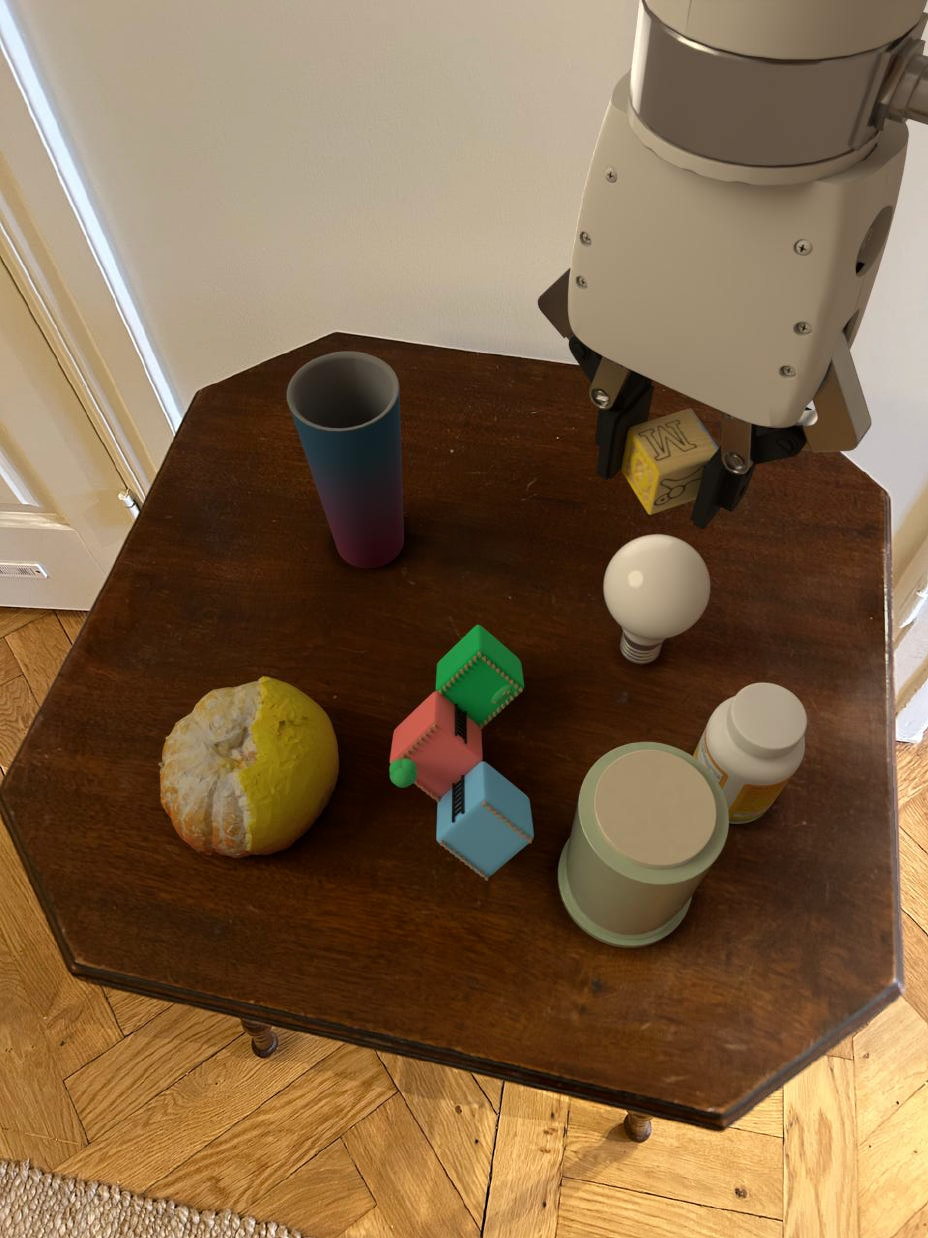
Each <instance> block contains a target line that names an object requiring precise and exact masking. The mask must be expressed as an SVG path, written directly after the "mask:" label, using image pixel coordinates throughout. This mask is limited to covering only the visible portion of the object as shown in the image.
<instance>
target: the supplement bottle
mask: <svg viewBox="0 0 928 1238" xmlns="http://www.w3.org/2000/svg"><path fill="white" fill-rule="evenodd" d="M807 727H808V715H807V711H806V708H805V707H804V705H803V703H802V702H801V701H800V699H799V698H798V697H797V696H796V695H795V694H794V693H793V692H792V691H791V690H789V689H787V688H785V687H783V686H781V685H778V684H775V683H771V682H756V683H755V682H754V683H751V684H749V685H746V686H745V687H743V688H742V689H740V690H738V692H737V693H736V694H735V695H734V696H731V697H730V698H727V699H726V700H724V701H722V702H721V703H720V704H718V706H717V707H716V708H715V709H714V711H713V712H712V714H711V715H710V717H709V719H708V722H707V723H706V726H705V728H704V731H703V732H702V735H701V737H700V739H699V741H698V744H697V746H696V747H695V750H694V752H693V754H692V756H693V757H694V758H696V759H697V760H698V761H700V762H701V763H702V764H703V765H704V766H705V767H706V768H707V769H708V770H709V771H710V772H711V773H712V775H713V776H714V777H715V779H716V780H717V782H718V784H719V785H720V787H721V789H722V791H723V794H724V796H725V799H726V803H727V806H728V813H729V824H732V825H733V824H735V825H739V824H740V825H742V824H747V823H750V822H753V821H755V820H758V819H759V818H761V817H762V816H763V815H764V814H765V813H766V812H767V811H768V810H769V809H770V808H771V806H772V805H773V804H774V802H775V801H776V799H777V798H778V797H779V795H780V794H781V792H783V790H784V789H785V787H786V785H787V784H788V783H789V781H790V780H791V778H792V777H793V776H794V775H795V773H796V772H797V770H798V768H799V767H800V765H801V763H802V762H803V759H804V756H805V752H806V739H805V737H806V736H805V734H806V732H807Z"/></svg>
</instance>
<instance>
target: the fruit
mask: <svg viewBox="0 0 928 1238" xmlns="http://www.w3.org/2000/svg"><path fill="white" fill-rule="evenodd" d="M161 753H162V754H161V759H162V760H161V761H160V762H158V763H157V765H158V766H159V767H160V769H159V780H160V781H159V788H160V795H159V796H160V804H161V806H162V808H163V810H164V811H165V813H166V815H168V817H169V818H170V820H171V823H172V826H173V828H174V830H175V831H176V834H178V836H179V838H180V839H181V840H182V841H184V842H185V843H187V844H188V845H189V846H190V847H191V848H192V849H193V850H194V851H196V852H198V853H203V854H205V855H207V856H211V855H213V854H214V853H216V854H219V855H220V856H228V857H231V858H233V859H240V858H246V857H250V856H254V855H256V856H260V855H261V856H269V855H273V854H274V853H277V852H281V851H283V850H284V851H286V850H287V849H290V847H291V846H293V844H294V842H296V841H297V840H299V839H300V838H301V837H302V836H304V835H305V834H306V833H307V832H308V831H309V830H311V828H312V827H313V825H315V822H316V821H317V820H318V819H319V818H320V816H321V815H322V813H323V810H324V809H325V807H327V805H328V804H329V803H330V800H331V799H332V797H333V794H334V791H335V789H336V785H337V782H338V777H339V773H340V757H339V756H340V754H339V745H338V740H337V736H336V733H335V730H334V727H333V724H332V721H331V719H330V717H329V716H328V714H327V712H326V711H325V710H324V709H323V708H322V707H321V706H320V705H319V704H318V703H317V702H316V701H315V700H313V699H312V698H311V697H310V696H308V694H306V693H305V692H303V691H301V689H299V688H297V687H295V686H294V685H292V684H290V683H288V682H285V681H282V680H279V679H277V678H273V677H270V676H266V675H265V676H264V675H263V676H262V677H260V678H258V680H256V681H250V682H247V683H244V684H243V683H242V684H241V685H238V686H233V687H231V686H228V687H223V688H217V689H212V690H211V691H209V692H208V693H207V694H205V695H204V696H203V697H201V699H200V700H199V701H198V702H197V703H195V706H194V708H193V710H192V711H191V712H190V713H189V714H187V715H186V716H184V717H183V718H181V719H180V720H178V721H177V722H175V724H174V726H173V728H172V731H171V732H170V734H169V735H168V736H165V742H164V744H163V748H162V752H161Z"/></svg>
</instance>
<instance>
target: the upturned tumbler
mask: <svg viewBox="0 0 928 1238" xmlns="http://www.w3.org/2000/svg"><path fill="white" fill-rule="evenodd" d="M729 827H730V823H729V813H728V806H727V803H726V799H725V796H724V794H723V791H722V789H721V787H720V785H719V784H718V782H717V780H716V779H715V777H714V776H713V775H712V773H711V772H710V771H709V770H708V769H707V768H706V767H705V766H704V765H703V764H702V763H701V762H700V761H698V760H697V759H696V758H694V757H693V755H692V754H690V753H688V752H686V751H685V750H683V749H680V748H678V747H675V746H672V745H669V744H666V743H661V742H655V741H640V742H632V743H627V744H624V745H621V746H618V747H616V748H614V749H611V750H610V751H608V752H606V753H605V754H603V755H602V756H601V757H600V758H598V760H597V761H595V763H594V764H593V765H592V766H591V767H590V769H589V770H588V772H587V773H586V775H585V777H584V779H583V782H582V783H581V787H580V791H579V794H578V800H577V804H576V808H575V813H574V815H573V821H572V825H571V830H570V835H569V838H568V839H567V841H566V842H565V844H564V845H563V848H562V850H561V853H560V857H559V860H558V864H557V865H558V866H557V887H558V891H559V896H560V899H561V901H562V904H563V906H564V908H565V910H566V911H567V913H568V915H569V916H570V918H571V919H572V920H573V922H574V923H575V924H576V925H577V926H578V927H579V928H580V929H581V930H582V931H583V932H585V933H586V934H588V936H590V937H592V938H594V939H595V940H596V941H599V942H601V943H603V944H606V945H609V946H613V947H617V948H622V949H623V948H624V949H637V948H644V947H648V946H650V945H653V944H656V943H658V942H661V941H662V940H664V939H665V938H667V937H668V936H669V935H671V934H672V933H673V932H674V931H675V930H676V928H678V927H679V925H680V924H681V923H682V921H683V919H684V918H685V917H686V915H687V912H688V910H689V908H690V905H691V902H692V897H693V895H694V893H695V892H696V890H697V888H698V887H699V885H700V884H701V882H702V881H703V880H704V878H705V877H706V875H707V873H708V872H709V871H710V869H711V868H712V866H713V865H714V863H715V862H716V860H717V859H718V857H719V856H720V854H721V853H722V851H723V849H724V847H725V844H726V841H727V838H728V835H729Z"/></svg>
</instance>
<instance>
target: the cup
mask: <svg viewBox="0 0 928 1238" xmlns="http://www.w3.org/2000/svg"><path fill="white" fill-rule="evenodd" d="M400 390H401V389H400V382H399V378H398V376H397V374H396V372H395V371H394V370H393V368H392V366H390V365H389V364H388V363H387V362H386V361H384V360H382V359H381V358H378V357H377V356H375V355H371V354H370V353H365V352H360V351H336V352H331V353H327V354H323V355H321V356H319V357H316V358H314V359H311V360H310V361H309V362H307V363H305V364H304V365H302V366H301V367H300V368H299V369H298V370H297V371H296V372H295V373H294V374H293V375H292V377H291V379H290V381H289V382H288V385H287V390H286V402H287V405H288V408H289V411H290V414H291V417H292V419H293V423H294V425H295V428H296V432H297V434H298V437H299V438H298V439H299V440H300V443H301V446H302V449H303V452H304V455H305V458H306V462H307V463H308V467H309V469H310V473H311V475H312V479H313V482H314V484H315V489H316V491H317V493H318V497H319V499H320V502H321V505H322V508H323V511H324V515H325V517H326V520H327V523H328V526H329V529H330V532H331V535H332V537H333V541H334V543H335V547H336V549H337V552H338V554H339V556H340V558H341V559H342V560H344V561H345V562H346V563H347V564H349V565H351V566H353V567H356V568H358V569H359V568H360V569H377V568H380V567H383V566H385V565H389V564H390V563H391V562H392V561H394V560H395V559H396V558H397V557H398V556H399V555H400V553H401V551H402V549H403V547H404V545H405V544H404V543H405V526H404V493H403V491H404V489H403V459H402V457H403V456H402V430H401V429H402V427H401V394H400V393H401V392H400Z"/></svg>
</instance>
